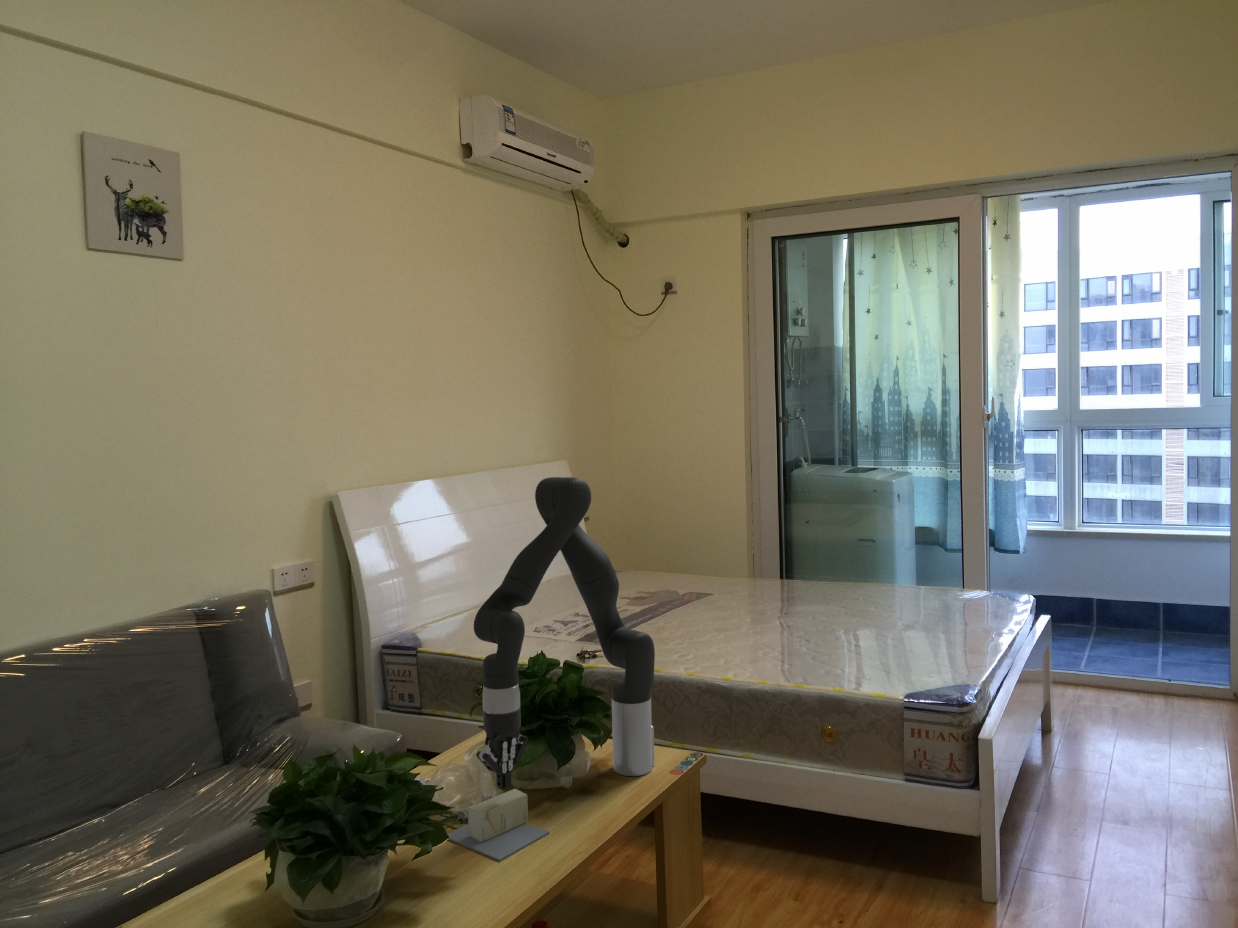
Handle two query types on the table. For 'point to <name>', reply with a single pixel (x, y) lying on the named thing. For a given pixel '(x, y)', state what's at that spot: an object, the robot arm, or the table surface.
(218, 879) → the table surface
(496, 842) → the slate mat
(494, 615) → the robot arm
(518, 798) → the skincare box
